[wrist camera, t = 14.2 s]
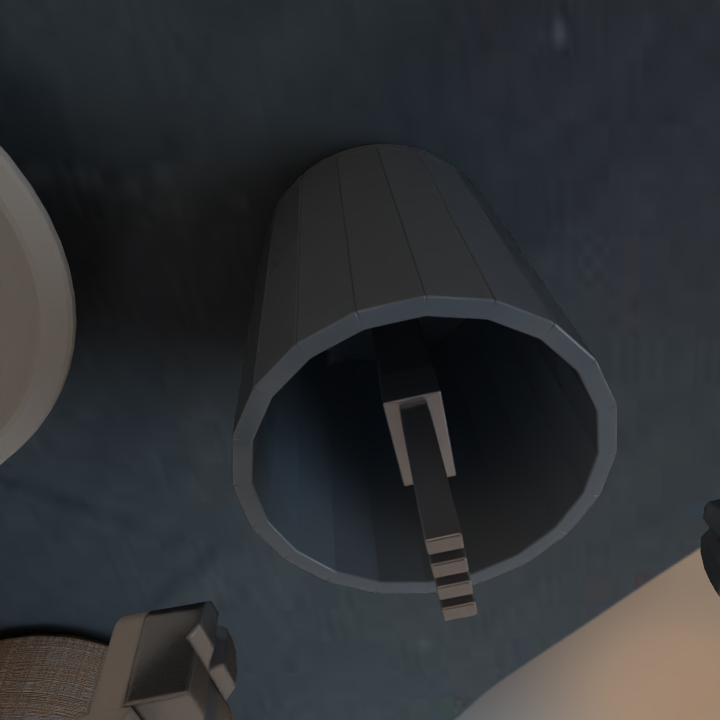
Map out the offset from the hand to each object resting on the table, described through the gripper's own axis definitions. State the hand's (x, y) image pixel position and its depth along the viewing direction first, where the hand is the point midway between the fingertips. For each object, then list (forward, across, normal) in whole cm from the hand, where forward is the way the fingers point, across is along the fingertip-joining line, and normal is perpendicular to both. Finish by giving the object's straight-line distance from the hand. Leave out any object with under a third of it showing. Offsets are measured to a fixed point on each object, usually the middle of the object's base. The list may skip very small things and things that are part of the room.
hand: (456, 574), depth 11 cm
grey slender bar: (+12, 0, 0) cm, 12 cm away
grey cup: (+13, 0, 0) cm, 13 cm away
